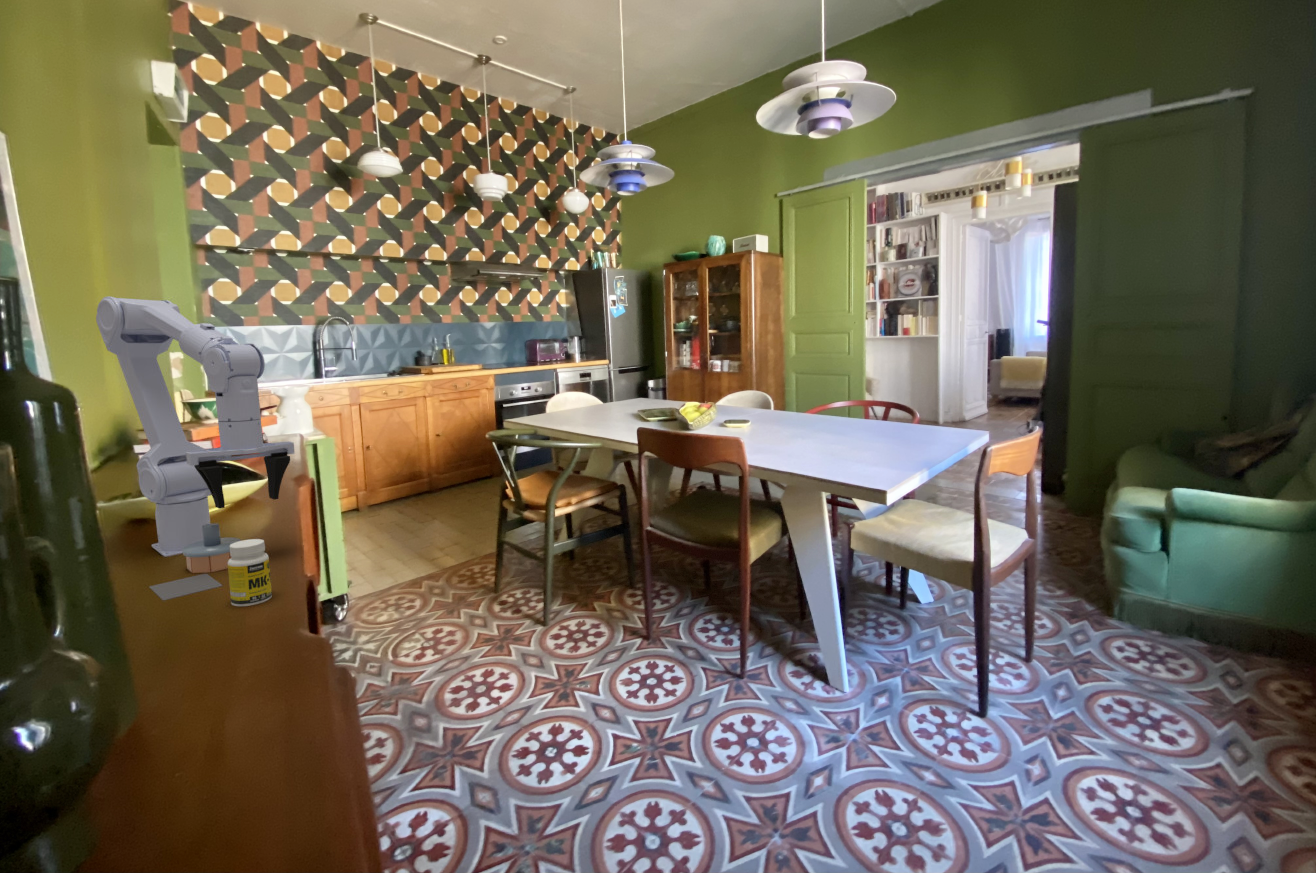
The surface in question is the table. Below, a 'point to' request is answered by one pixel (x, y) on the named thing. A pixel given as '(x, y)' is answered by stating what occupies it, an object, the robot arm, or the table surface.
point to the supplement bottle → (249, 573)
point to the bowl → (208, 563)
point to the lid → (209, 543)
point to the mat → (185, 586)
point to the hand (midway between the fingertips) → (247, 502)
